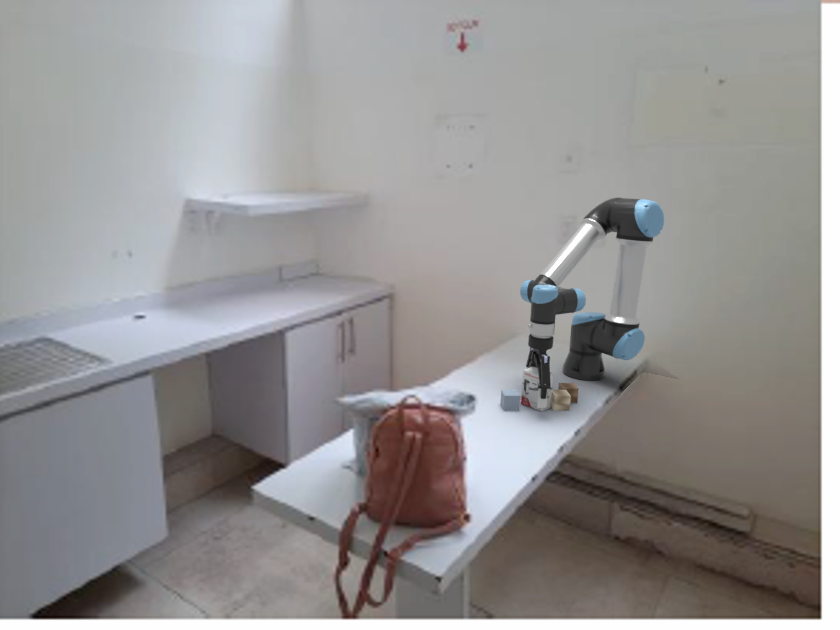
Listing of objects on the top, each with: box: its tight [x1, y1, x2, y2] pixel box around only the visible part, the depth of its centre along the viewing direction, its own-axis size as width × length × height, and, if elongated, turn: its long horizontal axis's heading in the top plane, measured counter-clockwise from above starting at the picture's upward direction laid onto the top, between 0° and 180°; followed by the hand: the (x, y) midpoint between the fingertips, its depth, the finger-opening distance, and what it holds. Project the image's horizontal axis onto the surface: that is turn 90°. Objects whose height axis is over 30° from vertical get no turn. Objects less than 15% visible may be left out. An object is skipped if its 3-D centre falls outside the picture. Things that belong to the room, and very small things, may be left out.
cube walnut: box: [557, 382, 579, 404], centre depth 190 cm, size 5×5×5 cm
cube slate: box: [500, 389, 521, 411], centre depth 182 cm, size 5×5×5 cm
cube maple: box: [550, 389, 571, 411], centre depth 183 cm, size 5×5×5 cm
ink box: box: [520, 367, 555, 412], centre depth 183 cm, size 9×5×12 cm, turn 44°
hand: (535, 398), depth 184 cm, fingers open, 13 cm apart
